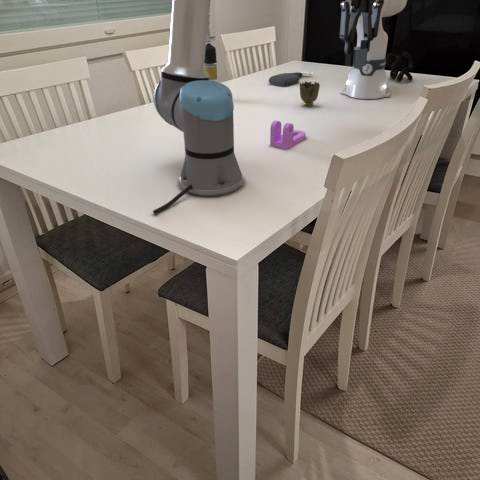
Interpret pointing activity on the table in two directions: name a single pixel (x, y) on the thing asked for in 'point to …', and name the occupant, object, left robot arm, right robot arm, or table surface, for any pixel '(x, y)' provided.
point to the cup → (309, 92)
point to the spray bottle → (288, 78)
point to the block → (359, 57)
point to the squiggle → (399, 66)
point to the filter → (210, 59)
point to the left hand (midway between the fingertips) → (355, 64)
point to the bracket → (284, 135)
